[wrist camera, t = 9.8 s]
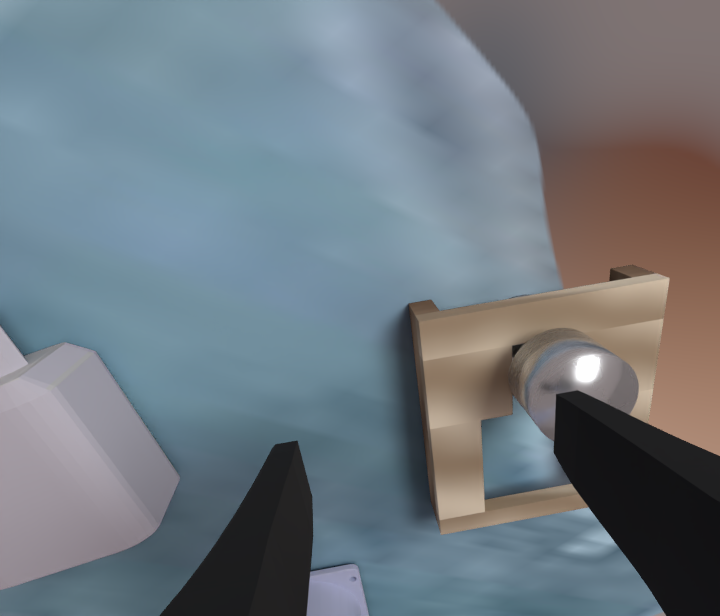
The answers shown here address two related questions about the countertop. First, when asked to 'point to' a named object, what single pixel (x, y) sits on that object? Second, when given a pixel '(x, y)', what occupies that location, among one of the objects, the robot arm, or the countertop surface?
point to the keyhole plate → (491, 387)
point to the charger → (72, 464)
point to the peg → (567, 374)
